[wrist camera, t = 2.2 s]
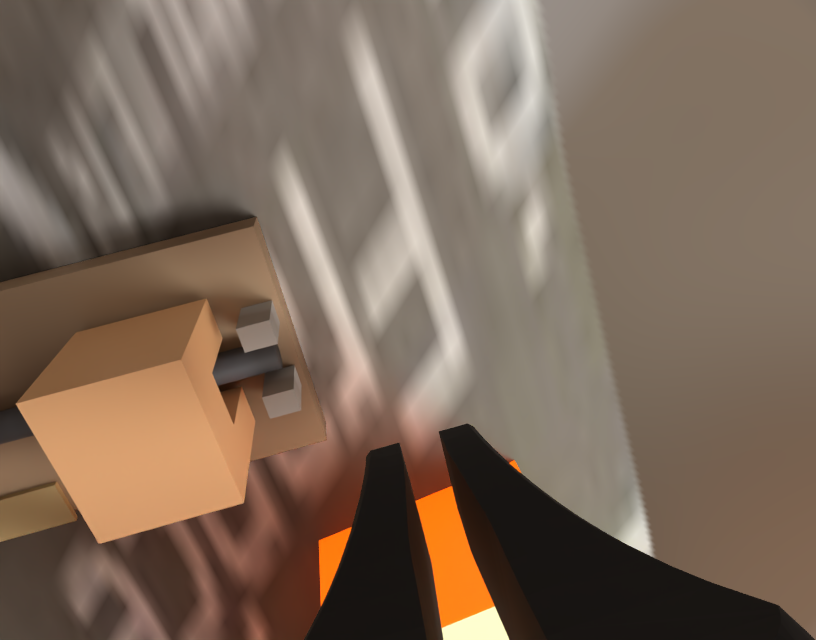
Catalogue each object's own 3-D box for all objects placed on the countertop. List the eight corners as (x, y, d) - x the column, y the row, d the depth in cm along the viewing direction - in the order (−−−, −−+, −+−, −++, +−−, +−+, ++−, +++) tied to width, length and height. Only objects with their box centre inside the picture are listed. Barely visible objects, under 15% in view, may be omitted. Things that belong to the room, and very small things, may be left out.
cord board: (327, 428, 22) (333, 525, 18) (-132, 555, 21) (-255, 694, 17) (253, 207, 19) (236, 256, 14) (-303, 349, 18) (-522, 452, 13)
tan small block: (255, 421, 20) (244, 502, 16) (137, 453, 20) (98, 543, 16) (206, 298, 18) (181, 359, 14) (75, 332, 18) (15, 403, 14)
